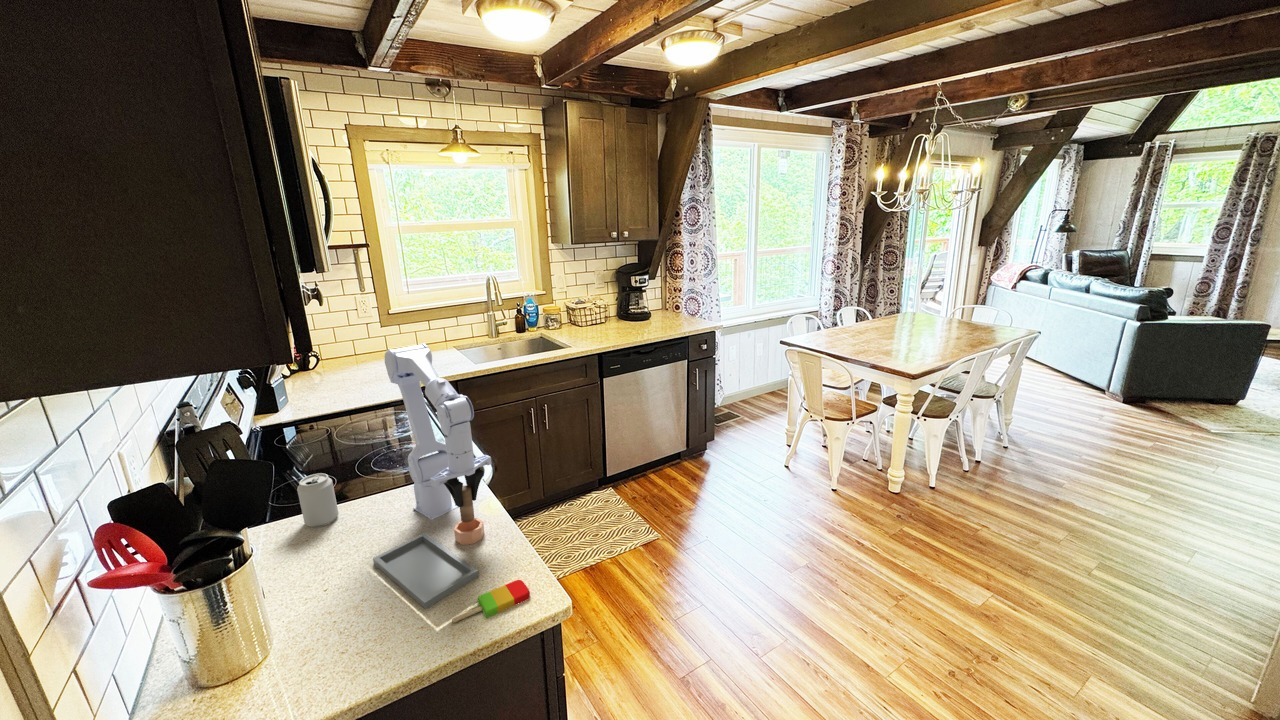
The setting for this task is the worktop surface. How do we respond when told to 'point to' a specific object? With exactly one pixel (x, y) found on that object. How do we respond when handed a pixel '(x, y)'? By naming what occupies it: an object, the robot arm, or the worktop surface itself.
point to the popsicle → (499, 599)
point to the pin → (467, 505)
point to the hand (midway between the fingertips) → (465, 502)
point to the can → (317, 500)
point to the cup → (469, 531)
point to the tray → (425, 569)
